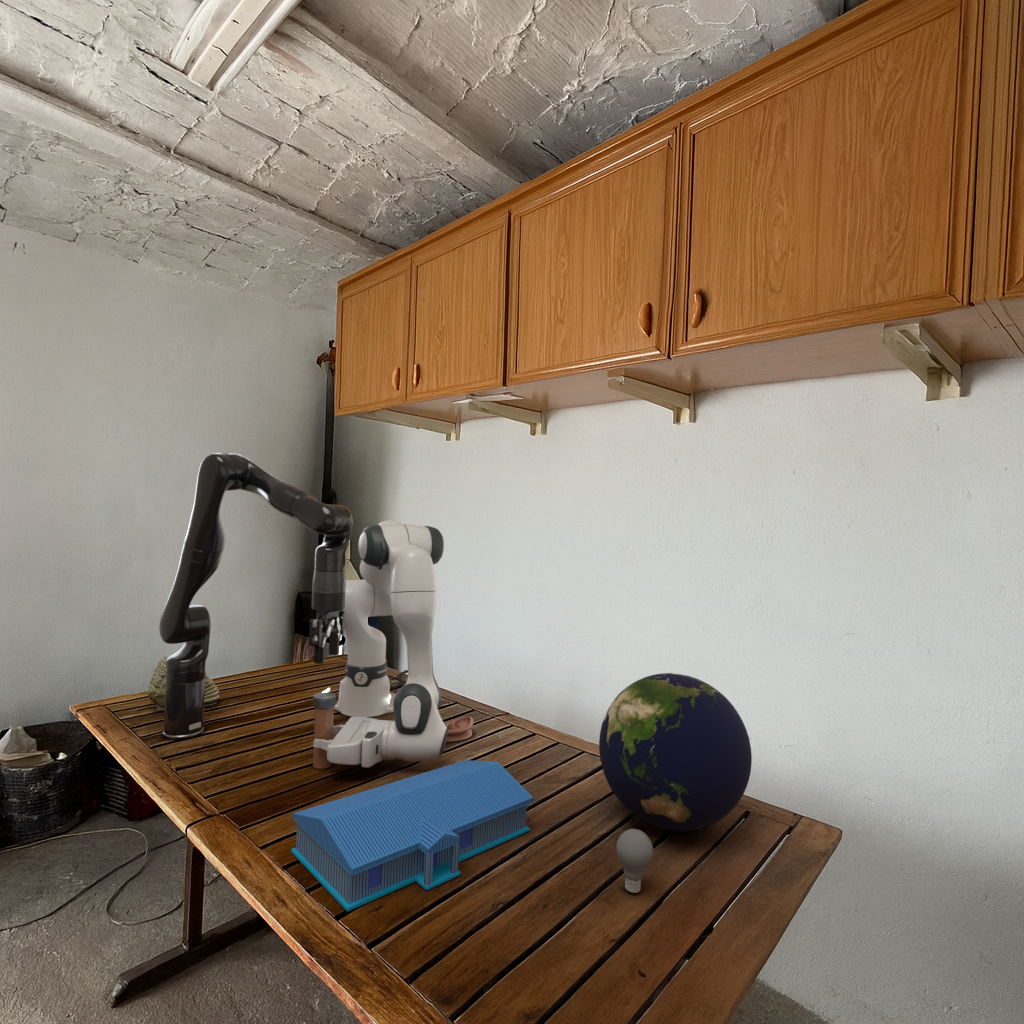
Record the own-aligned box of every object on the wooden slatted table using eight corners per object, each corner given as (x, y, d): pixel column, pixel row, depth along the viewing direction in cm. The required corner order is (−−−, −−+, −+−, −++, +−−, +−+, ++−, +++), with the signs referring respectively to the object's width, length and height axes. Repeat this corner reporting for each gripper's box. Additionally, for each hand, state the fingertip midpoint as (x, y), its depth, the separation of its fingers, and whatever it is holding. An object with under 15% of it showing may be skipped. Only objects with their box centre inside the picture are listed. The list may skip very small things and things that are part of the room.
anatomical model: (417, 724, 167) (431, 710, 178) (416, 739, 167) (430, 724, 178) (465, 730, 164) (477, 715, 176) (465, 745, 165) (476, 730, 176)
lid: (333, 700, 153) (333, 691, 153) (338, 707, 148) (338, 697, 148) (311, 702, 150) (311, 693, 150) (315, 709, 146) (315, 700, 146)
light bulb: (610, 879, 108) (613, 822, 108) (644, 879, 109) (647, 822, 109) (619, 902, 102) (622, 840, 102) (655, 901, 103) (658, 840, 103)
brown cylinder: (329, 760, 152) (332, 693, 152) (333, 767, 148) (336, 699, 148) (311, 762, 150) (313, 695, 150) (314, 770, 147) (317, 701, 146)
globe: (578, 839, 121) (585, 683, 120) (614, 778, 149) (620, 651, 148) (744, 881, 110) (753, 709, 109) (749, 806, 137) (756, 669, 137)
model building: (357, 922, 95) (360, 856, 95) (289, 850, 113) (292, 795, 113) (542, 837, 121) (544, 785, 121) (463, 790, 139) (465, 745, 139)
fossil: (144, 707, 182) (145, 655, 182) (212, 696, 194) (213, 647, 194) (151, 716, 175) (153, 662, 175) (221, 703, 188) (223, 653, 188)
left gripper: (327, 584, 156) (324, 650, 157) (299, 592, 142) (296, 665, 142) (356, 586, 155) (353, 652, 155) (331, 594, 141) (328, 667, 141)
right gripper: (388, 711, 159) (333, 708, 160) (367, 742, 139) (305, 739, 139) (387, 736, 160) (332, 733, 160) (366, 771, 139) (304, 767, 139)
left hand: (326, 658), depth 149 cm, fingers open, 7 cm apart
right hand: (319, 736), depth 149 cm, fingers open, 6 cm apart
